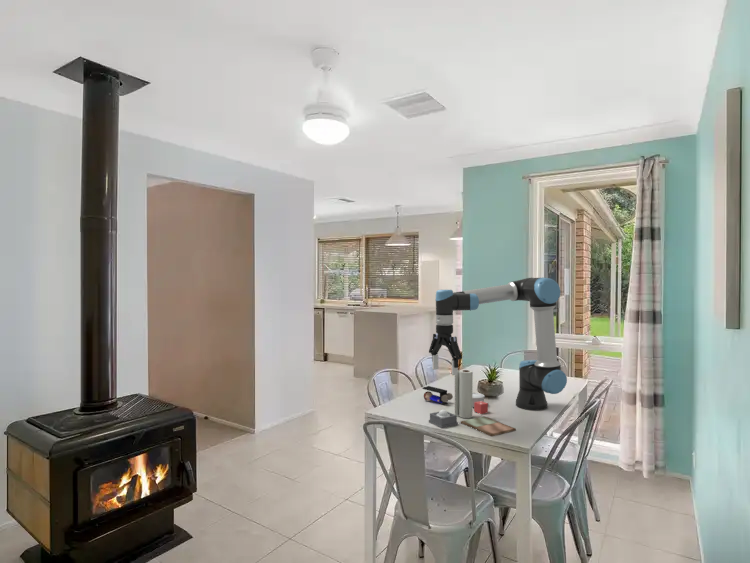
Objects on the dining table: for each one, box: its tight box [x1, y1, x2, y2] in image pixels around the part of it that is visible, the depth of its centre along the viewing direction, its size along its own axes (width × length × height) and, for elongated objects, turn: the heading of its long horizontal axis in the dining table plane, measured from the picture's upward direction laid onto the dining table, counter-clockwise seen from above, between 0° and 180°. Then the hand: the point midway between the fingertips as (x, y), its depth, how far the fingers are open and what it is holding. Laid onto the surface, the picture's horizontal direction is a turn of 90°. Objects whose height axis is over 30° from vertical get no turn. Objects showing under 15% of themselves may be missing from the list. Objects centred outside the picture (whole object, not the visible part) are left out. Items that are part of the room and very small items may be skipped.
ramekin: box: [472, 391, 486, 407], centre depth 229 cm, size 11×11×5 cm
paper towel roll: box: [454, 369, 474, 419], centre depth 210 cm, size 7×6×21 cm
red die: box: [473, 401, 489, 415], centre depth 217 cm, size 4×4×5 cm
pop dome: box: [436, 409, 450, 418], centre depth 200 cm, size 6×6×5 cm
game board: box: [460, 416, 517, 437], centre depth 196 cm, size 14×19×1 cm
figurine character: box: [422, 385, 454, 406], centre depth 234 cm, size 7×8×15 cm
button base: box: [428, 411, 459, 429], centre depth 200 cm, size 9×9×4 cm
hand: (444, 372), depth 201 cm, fingers open, 13 cm apart
